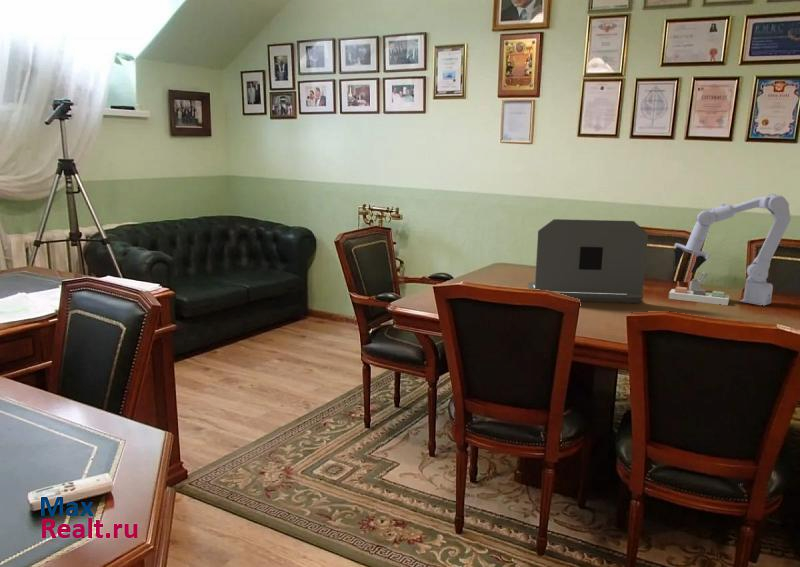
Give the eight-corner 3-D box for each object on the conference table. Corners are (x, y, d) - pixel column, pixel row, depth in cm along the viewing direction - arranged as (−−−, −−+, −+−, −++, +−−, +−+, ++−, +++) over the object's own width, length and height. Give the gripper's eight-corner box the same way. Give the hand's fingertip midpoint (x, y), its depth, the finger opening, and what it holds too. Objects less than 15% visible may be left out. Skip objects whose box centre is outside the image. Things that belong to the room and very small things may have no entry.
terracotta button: (686, 294, 260) (687, 287, 260) (685, 296, 257) (686, 289, 256) (675, 293, 262) (676, 286, 262) (674, 295, 259) (675, 288, 258)
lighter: (691, 291, 273) (693, 273, 271) (688, 290, 274) (690, 272, 273) (705, 290, 274) (707, 273, 272) (702, 289, 276) (704, 272, 274)
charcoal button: (704, 296, 257) (705, 289, 256) (704, 298, 253) (704, 291, 253) (693, 295, 259) (694, 288, 258) (692, 297, 255) (693, 290, 255)
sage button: (723, 298, 253) (724, 291, 253) (723, 300, 250) (723, 293, 249) (712, 297, 255) (713, 290, 255) (711, 299, 252) (712, 292, 251)
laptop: (622, 288, 278) (628, 214, 271) (642, 304, 248) (650, 221, 241) (525, 285, 282) (529, 212, 275) (533, 301, 251) (538, 219, 245)
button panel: (728, 301, 255) (729, 295, 254) (727, 305, 247) (728, 299, 246) (671, 294, 265) (672, 288, 265) (668, 298, 258) (669, 292, 257)
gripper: (676, 232, 258) (664, 263, 262) (710, 244, 248) (697, 275, 252) (683, 233, 263) (671, 263, 267) (716, 245, 253) (703, 275, 257)
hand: (684, 269), depth 260 cm, fingers open, 7 cm apart
